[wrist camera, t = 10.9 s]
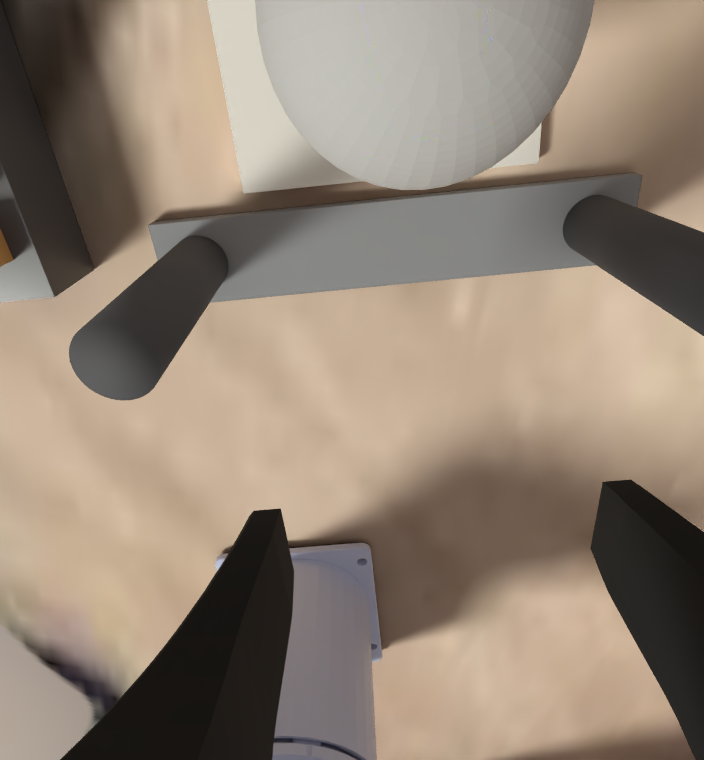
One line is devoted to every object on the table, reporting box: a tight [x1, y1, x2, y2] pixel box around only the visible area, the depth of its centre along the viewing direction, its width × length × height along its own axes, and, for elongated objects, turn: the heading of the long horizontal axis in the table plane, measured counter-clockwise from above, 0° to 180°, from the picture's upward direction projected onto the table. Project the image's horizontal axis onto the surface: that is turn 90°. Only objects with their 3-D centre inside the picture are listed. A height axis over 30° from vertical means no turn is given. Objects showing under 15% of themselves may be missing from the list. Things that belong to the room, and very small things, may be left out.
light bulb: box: [255, 0, 594, 190], centre depth 11 cm, size 6×6×10 cm
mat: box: [207, 0, 542, 194], centre depth 16 cm, size 8×10×1 cm
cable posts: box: [69, 173, 704, 400], centre depth 15 cm, size 3×17×8 cm, turn 95°
